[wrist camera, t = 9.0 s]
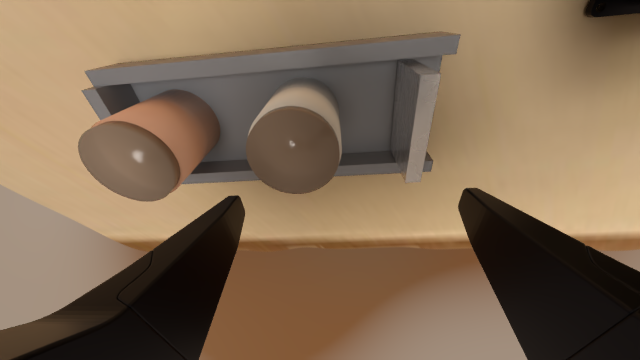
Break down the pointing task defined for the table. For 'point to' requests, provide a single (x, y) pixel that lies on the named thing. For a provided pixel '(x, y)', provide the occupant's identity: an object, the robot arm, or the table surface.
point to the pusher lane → (262, 82)
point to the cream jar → (296, 137)
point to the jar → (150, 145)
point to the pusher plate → (413, 116)
